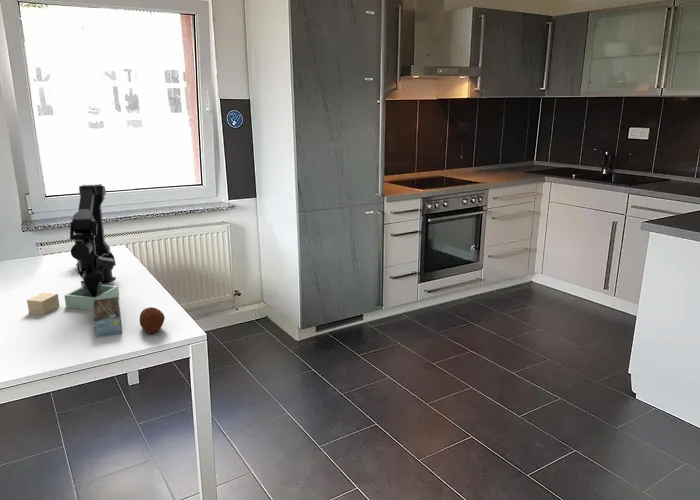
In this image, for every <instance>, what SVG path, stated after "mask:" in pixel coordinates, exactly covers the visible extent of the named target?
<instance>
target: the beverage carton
mask: <svg viewBox="0 0 700 500" xmlns="http://www.w3.org/2000/svg"><path fill="white" fill-rule="evenodd" d="M121 316H122V315H121V307H120V302H119V298H117V297H113V298H106V299H101V300H94V310H93V323H94V330H95V335H96V338H101V337H102V338H103V337H109V336H115V335H121V334H123V327H122V318H121Z"/></svg>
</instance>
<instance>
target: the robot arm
mask: <svg viewBox="0 0 700 500" xmlns="http://www.w3.org/2000/svg"><path fill="white" fill-rule="evenodd" d="M78 190H79V198H80V199H79V202H78V204H79V205H78V209H77V210H78V211H77V212H76V213H74V214H73V216H72V220H71V221H70V224H69V225H70V227H69V228H70V229H69V239H70V240H71V241H74V240H75V242H74V244H73V246H72V247H71V249H70V254H71V256H72V258H73V259H75V260H76V261H77V260H79V262H78V263H77V262H76V264H75V265H76V270H77V272H78V274H79V276H80V278H81V279H82V281H83V282H84V284H85V285H86V287H87V289H88V290H89V292H90V293H91V295H92V297H96V295H97V288H98V284H99V283H100V282H101V284H108V283H110V282H112V281H114V280H116V279H117V278H116V276H113V271H112V270H114V266H116V265H117V264H116V260H115V255H114V254H113V252H111V247H110V246H109V244H108V243H107V242H106V239H105V232H104V221H103V213H102V205H103V202H104V200H105V196H106V194H107V193H106V187H105V186H104V185H102V183H83V184H82V185H79V186H78ZM75 234H76V235H75Z"/></svg>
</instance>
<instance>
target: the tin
mask: <svg viewBox="0 0 700 500" xmlns="http://www.w3.org/2000/svg"><path fill="white" fill-rule="evenodd" d="M102 285H103V283H101V282H100V283H99V284H98V288H97V295H96V297H97V296H99V295H101V294H103V292H102ZM80 286H81V288H82V296H87V297H92V295H91V293H90V292H89V290H88V289H87V287H86V285H85V284H84V282H83V280H80Z"/></svg>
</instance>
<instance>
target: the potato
mask: <svg viewBox="0 0 700 500" xmlns="http://www.w3.org/2000/svg"><path fill="white" fill-rule="evenodd" d="M165 319H166V317H165V315H164V312H162V311H161V310H160V309H158V308H156V307H153V306H151V307H147V308H144V309H143V310H142V311H141V312H140V315H139V325H140V326H141V329H142V330H143V331H144V332H145V333H147V334H149V335H153V334H156V333H158V332H159V331H160V330H161V328H162V327H163V324H164V322H165Z"/></svg>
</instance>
